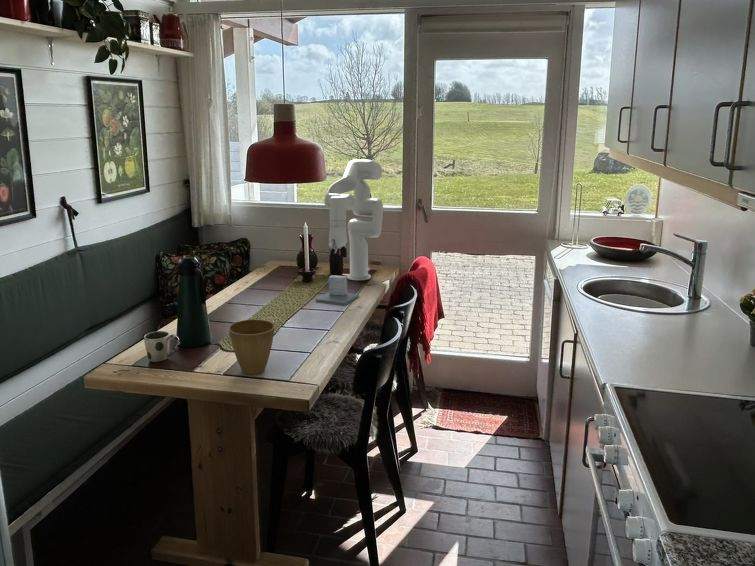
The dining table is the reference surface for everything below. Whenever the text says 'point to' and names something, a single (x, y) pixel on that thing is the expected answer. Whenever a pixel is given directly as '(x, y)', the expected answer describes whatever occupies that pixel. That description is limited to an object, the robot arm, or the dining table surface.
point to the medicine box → (337, 285)
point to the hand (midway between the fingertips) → (338, 259)
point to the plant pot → (252, 344)
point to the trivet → (337, 298)
